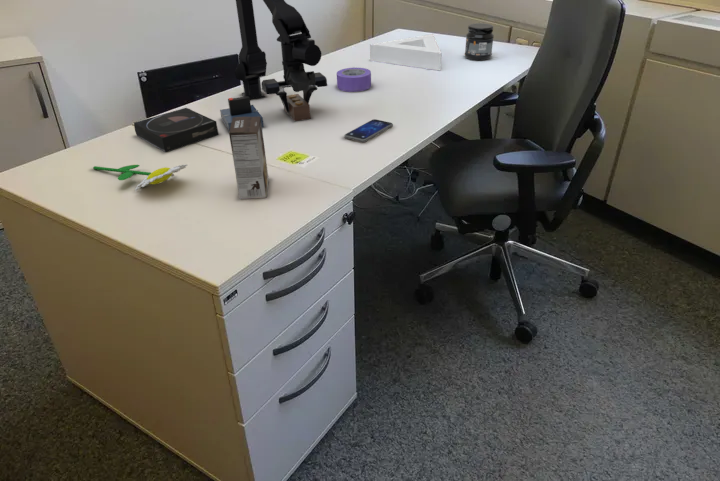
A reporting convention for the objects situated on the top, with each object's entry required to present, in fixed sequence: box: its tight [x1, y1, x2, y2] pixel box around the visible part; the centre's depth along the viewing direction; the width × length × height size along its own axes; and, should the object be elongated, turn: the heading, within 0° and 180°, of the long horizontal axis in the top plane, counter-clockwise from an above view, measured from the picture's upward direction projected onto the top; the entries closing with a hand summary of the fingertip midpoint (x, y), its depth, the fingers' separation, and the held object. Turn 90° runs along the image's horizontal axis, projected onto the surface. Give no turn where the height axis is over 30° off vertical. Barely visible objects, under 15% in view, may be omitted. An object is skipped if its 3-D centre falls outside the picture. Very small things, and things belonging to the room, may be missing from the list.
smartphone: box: [344, 118, 394, 143], centre depth 155 cm, size 7×1×15 cm
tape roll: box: [336, 67, 372, 93], centre depth 189 cm, size 12×12×5 cm
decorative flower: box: [93, 164, 188, 192], centre depth 132 cm, size 13×5×30 cm
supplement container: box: [464, 22, 495, 62], centre depth 215 cm, size 10×10×12 cm
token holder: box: [283, 93, 311, 122], centre depth 168 cm, size 11×5×5 cm, turn 23°
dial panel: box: [219, 104, 265, 132], centre depth 163 cm, size 12×10×3 cm
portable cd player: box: [133, 107, 219, 153], centre depth 156 cm, size 16×17×4 cm
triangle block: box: [369, 33, 442, 72], centre depth 215 cm, size 30×26×6 cm
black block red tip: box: [227, 96, 252, 116], centre depth 160 cm, size 6×2×5 cm, turn 114°
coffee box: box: [228, 116, 270, 200], centre depth 123 cm, size 9×6×16 cm
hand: (296, 111), depth 168 cm, fingers open, 5 cm apart
